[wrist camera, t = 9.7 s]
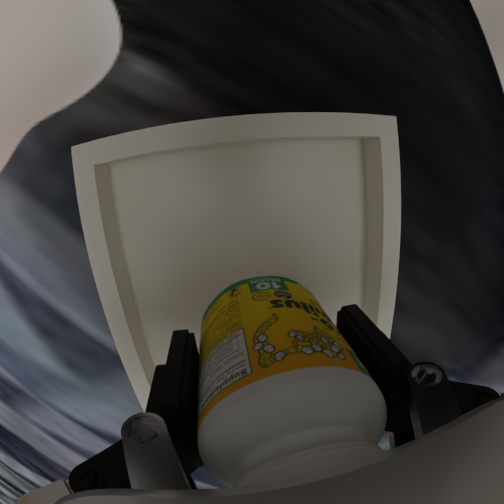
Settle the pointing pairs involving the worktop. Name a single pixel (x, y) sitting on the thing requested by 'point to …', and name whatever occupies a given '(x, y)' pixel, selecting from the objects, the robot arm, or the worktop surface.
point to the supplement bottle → (280, 386)
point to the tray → (237, 219)
